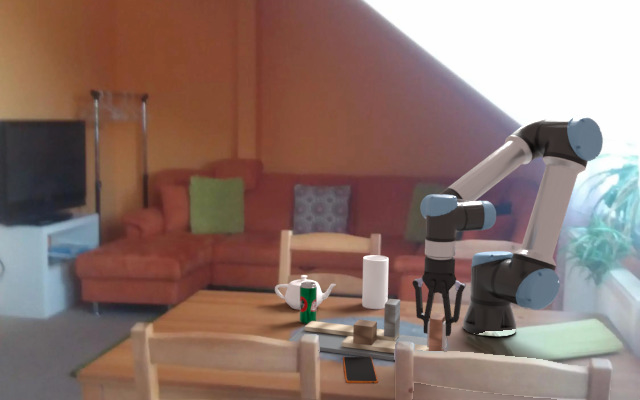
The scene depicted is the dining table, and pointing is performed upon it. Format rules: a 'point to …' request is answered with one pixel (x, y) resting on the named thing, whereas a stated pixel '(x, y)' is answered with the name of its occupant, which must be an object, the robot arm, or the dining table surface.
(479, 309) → the robot arm
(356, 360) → the smartphone
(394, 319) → the strip
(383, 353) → the board
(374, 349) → the strip
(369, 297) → the cup
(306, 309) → the soda can
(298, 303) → the teapot
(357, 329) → the block
